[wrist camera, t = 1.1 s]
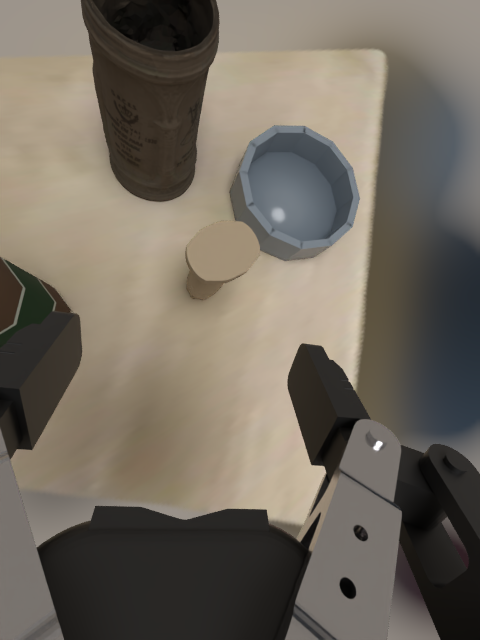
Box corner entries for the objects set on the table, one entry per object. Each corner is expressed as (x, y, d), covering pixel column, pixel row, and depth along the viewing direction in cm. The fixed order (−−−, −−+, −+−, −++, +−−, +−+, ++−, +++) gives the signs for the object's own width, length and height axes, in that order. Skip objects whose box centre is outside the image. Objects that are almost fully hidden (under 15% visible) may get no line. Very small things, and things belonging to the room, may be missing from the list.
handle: (167, 282, 39) (176, 238, 24) (211, 262, 41) (243, 211, 26) (185, 316, 39) (204, 291, 24) (228, 294, 41) (268, 260, 26)
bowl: (215, 230, 41) (223, 214, 37) (251, 130, 45) (263, 103, 40) (322, 277, 45) (342, 267, 40) (348, 181, 48) (369, 161, 44)
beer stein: (175, 220, 40) (203, 81, 21) (93, 183, 38) (42, -12, 19) (213, 133, 44) (265, -47, 25) (141, 95, 42) (140, -136, 23)
